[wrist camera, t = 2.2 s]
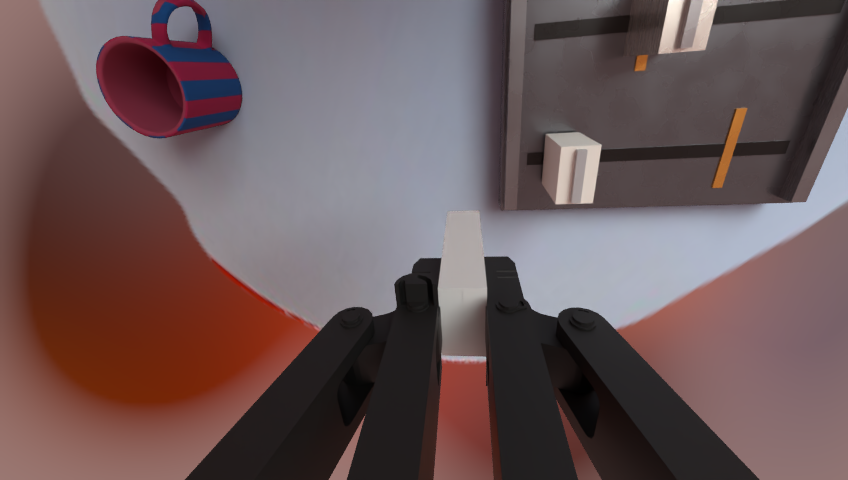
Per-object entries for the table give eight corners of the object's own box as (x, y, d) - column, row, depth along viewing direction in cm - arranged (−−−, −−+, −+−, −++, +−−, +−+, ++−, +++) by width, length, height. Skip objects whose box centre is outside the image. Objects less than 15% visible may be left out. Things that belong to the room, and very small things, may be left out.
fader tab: (545, 133, 27) (562, 148, 22) (579, 132, 27) (603, 146, 22) (541, 183, 29) (556, 206, 24) (572, 182, 28) (594, 205, 24)
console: (504, -36, 24) (518, -75, 18) (881, -81, 21) (1065, -147, 15) (498, 202, 32) (507, 236, 26) (773, 194, 29) (861, 230, 23)
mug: (161, 94, 31) (88, 101, 25) (193, -16, 27) (115, -40, 21) (227, 139, 33) (173, 156, 26) (268, 40, 28) (215, 33, 22)
